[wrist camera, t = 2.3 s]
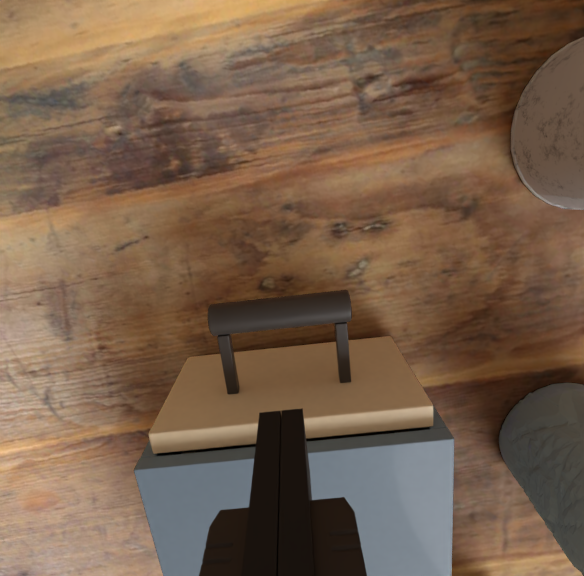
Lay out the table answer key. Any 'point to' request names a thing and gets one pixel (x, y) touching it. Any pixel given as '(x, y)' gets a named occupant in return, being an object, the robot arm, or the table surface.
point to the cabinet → (317, 497)
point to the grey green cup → (551, 460)
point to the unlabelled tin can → (553, 130)
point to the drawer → (289, 380)
